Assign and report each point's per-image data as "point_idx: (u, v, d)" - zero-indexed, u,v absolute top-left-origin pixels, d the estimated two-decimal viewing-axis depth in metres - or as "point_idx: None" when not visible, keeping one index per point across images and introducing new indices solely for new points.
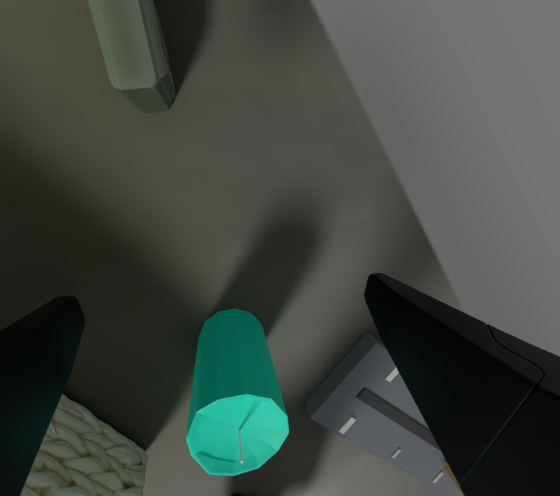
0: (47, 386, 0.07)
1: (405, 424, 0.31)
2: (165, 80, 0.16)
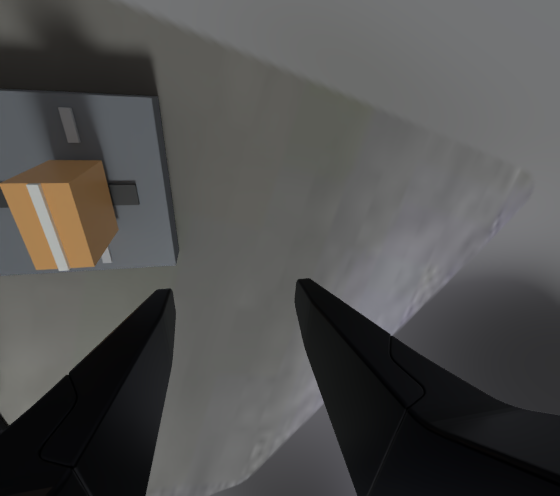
0: (162, 371, 0.07)
1: None
2: None
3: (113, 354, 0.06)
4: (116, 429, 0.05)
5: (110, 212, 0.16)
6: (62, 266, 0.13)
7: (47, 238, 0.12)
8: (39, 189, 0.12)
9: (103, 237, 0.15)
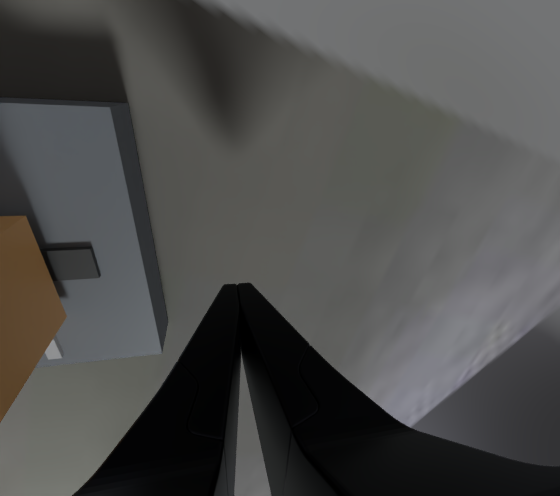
0: (239, 362, 0.08)
1: None
2: None
3: (212, 343, 0.06)
4: (231, 411, 0.05)
5: (47, 297, 0.09)
6: None
7: None
8: None
9: (26, 353, 0.08)
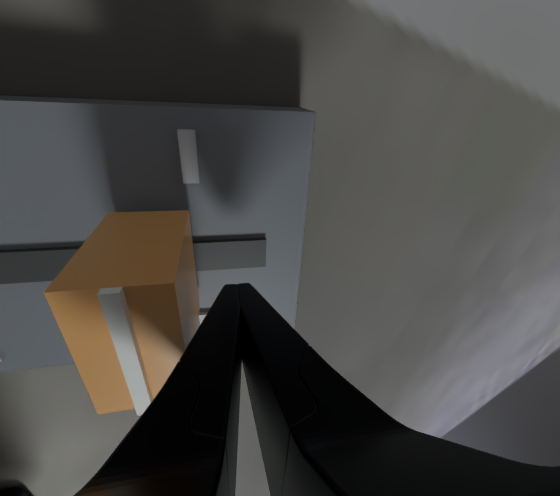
0: (240, 362, 0.08)
1: None
2: None
3: (213, 343, 0.06)
4: (232, 411, 0.05)
5: (195, 286, 0.10)
6: (144, 409, 0.07)
7: (125, 373, 0.07)
8: (118, 296, 0.06)
9: None
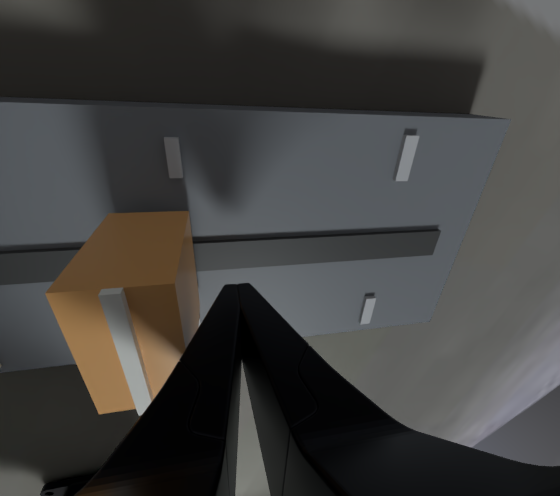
0: (239, 362, 0.08)
1: None
2: None
3: (213, 343, 0.06)
4: (232, 411, 0.05)
5: (196, 286, 0.10)
6: (144, 408, 0.08)
7: (126, 373, 0.07)
8: (119, 296, 0.06)
9: None
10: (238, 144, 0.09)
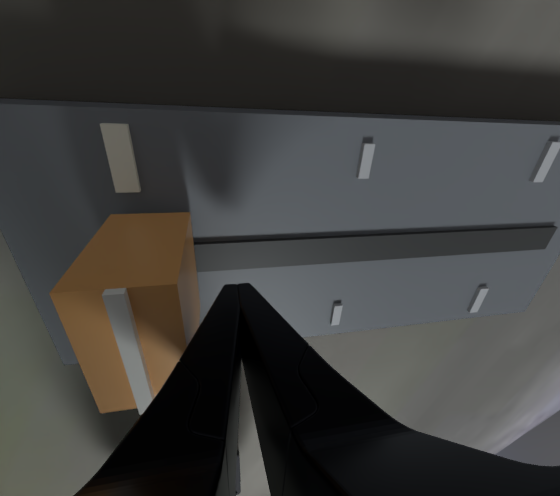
0: (239, 362, 0.08)
1: (301, 257, 0.12)
2: None
3: (213, 343, 0.06)
4: (232, 411, 0.05)
5: (196, 287, 0.10)
6: (146, 408, 0.08)
7: (128, 373, 0.07)
8: (122, 297, 0.06)
9: None
10: (416, 149, 0.11)
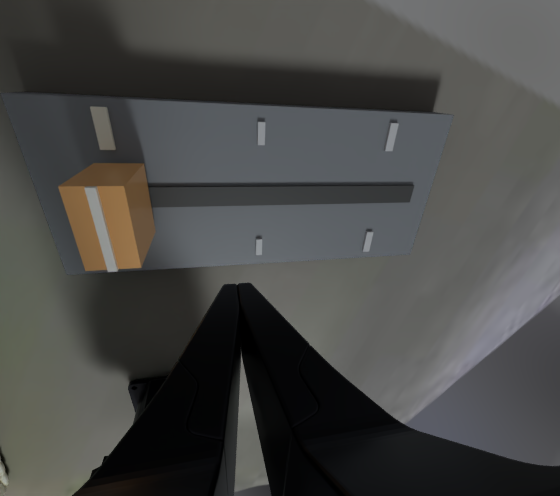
0: (239, 362, 0.08)
1: (226, 199, 0.17)
2: None
3: (212, 343, 0.06)
4: (231, 411, 0.05)
5: (150, 214, 0.16)
6: (111, 267, 0.13)
7: (100, 240, 0.13)
8: (95, 192, 0.12)
9: (146, 239, 0.15)
10: (296, 126, 0.16)
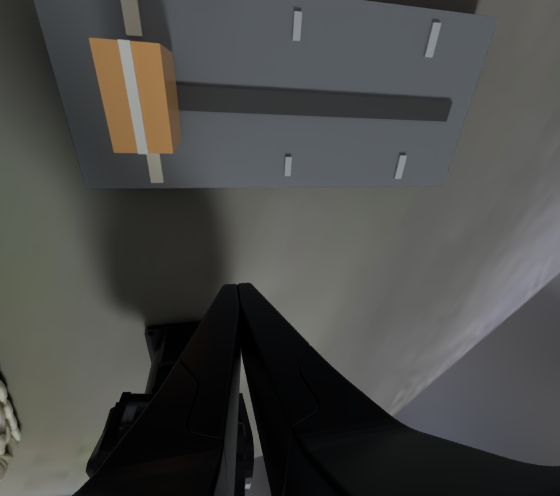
0: (239, 362, 0.08)
1: (257, 106, 0.16)
2: None
3: (212, 343, 0.06)
4: (231, 411, 0.05)
5: (177, 113, 0.15)
6: (142, 148, 0.12)
7: (131, 111, 0.12)
8: (128, 48, 0.11)
9: (175, 132, 0.14)
10: (333, 21, 0.15)
